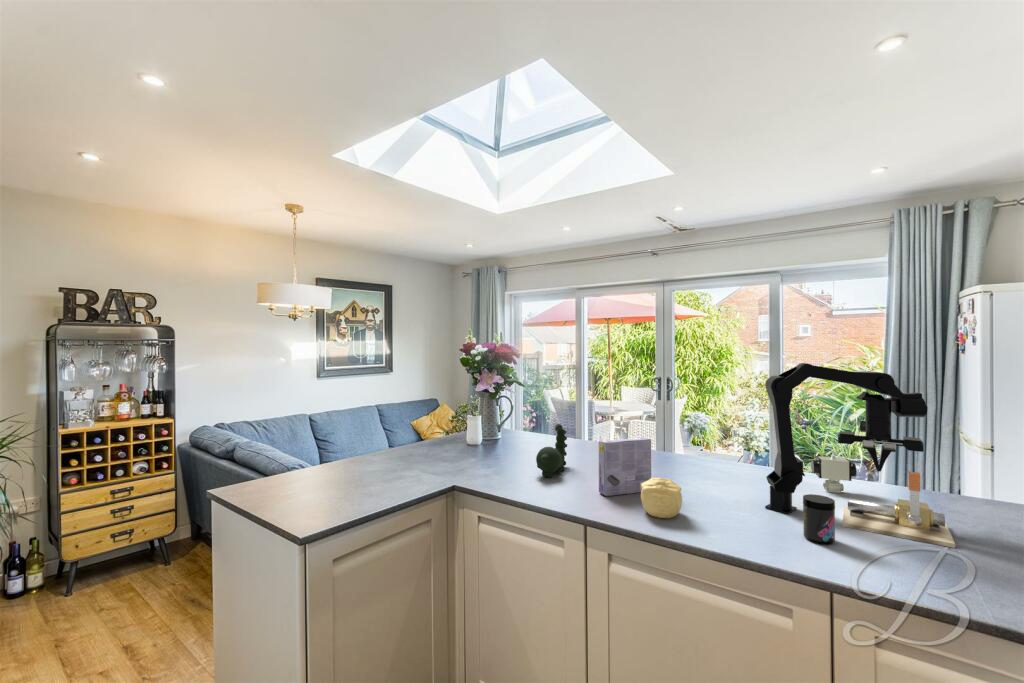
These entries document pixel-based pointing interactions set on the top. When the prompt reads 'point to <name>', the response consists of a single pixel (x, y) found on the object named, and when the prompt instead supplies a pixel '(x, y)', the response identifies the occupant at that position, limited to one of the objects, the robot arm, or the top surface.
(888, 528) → the mounting board
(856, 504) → the valve pipe
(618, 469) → the cake pan box
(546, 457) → the toy figurine
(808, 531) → the supplement container
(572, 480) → the top surface
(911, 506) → the valve lever
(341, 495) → the top surface
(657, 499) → the sculpture
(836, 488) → the pneumatic valve
